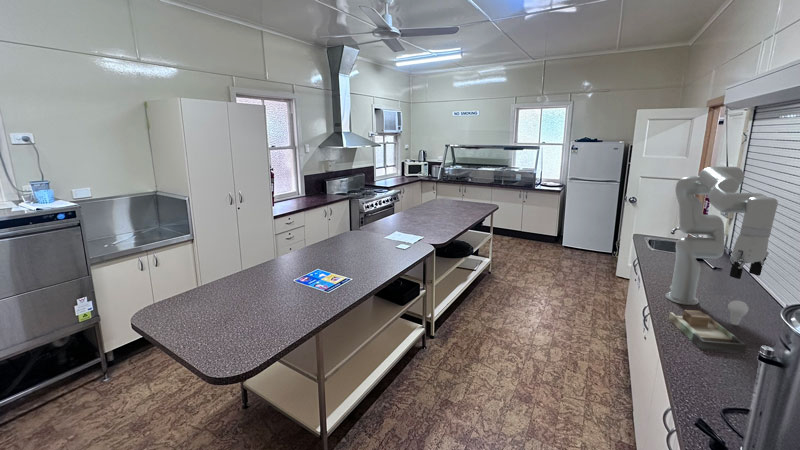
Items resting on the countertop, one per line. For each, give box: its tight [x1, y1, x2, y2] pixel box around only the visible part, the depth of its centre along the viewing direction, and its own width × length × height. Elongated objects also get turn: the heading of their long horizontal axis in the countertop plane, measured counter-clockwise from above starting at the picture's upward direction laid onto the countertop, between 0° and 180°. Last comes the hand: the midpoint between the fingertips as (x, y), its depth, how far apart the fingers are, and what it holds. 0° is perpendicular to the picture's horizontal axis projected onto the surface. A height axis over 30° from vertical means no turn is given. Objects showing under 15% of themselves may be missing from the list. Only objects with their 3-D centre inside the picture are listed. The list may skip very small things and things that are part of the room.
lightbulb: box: [727, 300, 749, 326], centre depth 146 cm, size 6×6×11 cm
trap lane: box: [668, 312, 748, 354], centre depth 140 cm, size 23×14×4 cm, turn 169°
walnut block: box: [682, 309, 710, 327], centre depth 146 cm, size 6×6×4 cm
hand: (744, 275), depth 128 cm, fingers open, 9 cm apart
